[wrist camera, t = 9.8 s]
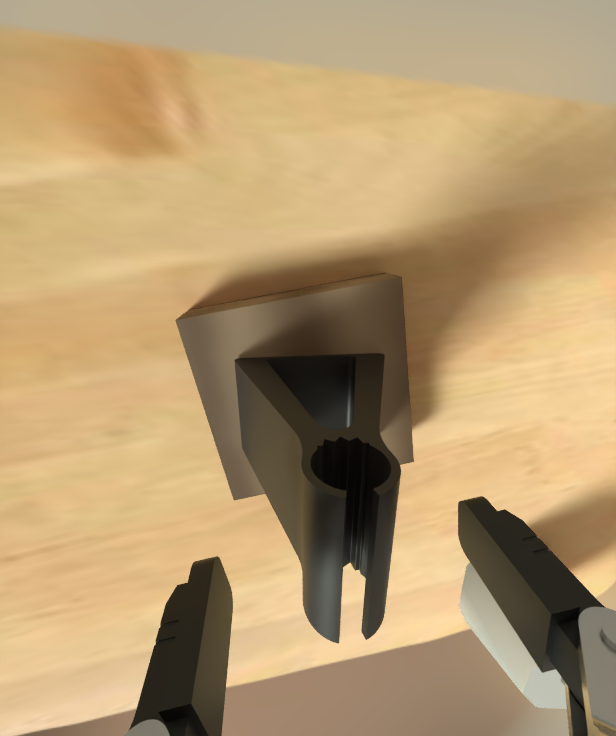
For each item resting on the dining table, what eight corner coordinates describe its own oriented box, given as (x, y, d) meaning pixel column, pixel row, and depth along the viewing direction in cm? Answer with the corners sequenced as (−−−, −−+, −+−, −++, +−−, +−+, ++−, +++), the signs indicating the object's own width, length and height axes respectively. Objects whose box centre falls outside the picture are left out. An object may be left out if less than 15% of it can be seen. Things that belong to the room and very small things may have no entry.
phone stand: (383, 352, 20) (521, 484, 9) (375, 436, 22) (480, 626, 11) (235, 357, 19) (187, 508, 8) (241, 444, 21) (211, 659, 10)
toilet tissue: (453, 631, 36) (505, 742, 28) (471, 540, 31) (540, 642, 23) (530, 621, 37) (602, 725, 29) (559, 530, 32) (654, 625, 24)
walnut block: (237, 472, 26) (234, 500, 23) (187, 310, 21) (175, 320, 18) (398, 438, 26) (413, 461, 24) (384, 272, 22) (401, 276, 19)
